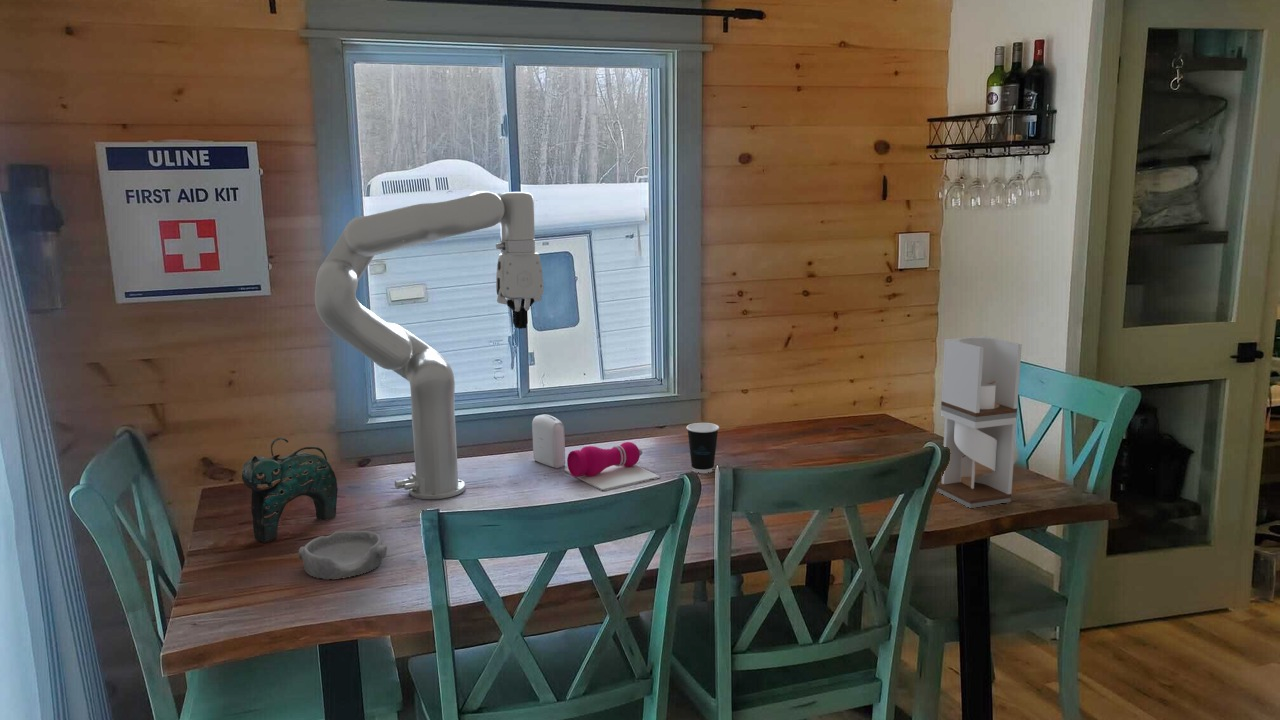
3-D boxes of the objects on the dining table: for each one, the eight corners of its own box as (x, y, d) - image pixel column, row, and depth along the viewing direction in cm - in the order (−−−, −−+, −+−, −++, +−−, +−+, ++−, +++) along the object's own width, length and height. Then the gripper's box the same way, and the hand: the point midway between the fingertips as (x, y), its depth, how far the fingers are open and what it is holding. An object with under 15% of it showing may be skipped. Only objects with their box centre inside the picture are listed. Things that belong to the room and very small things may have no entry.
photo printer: (530, 460, 235) (529, 413, 232) (545, 456, 237) (543, 410, 235) (553, 469, 227) (552, 421, 224) (567, 466, 229) (566, 418, 227)
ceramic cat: (260, 547, 181) (250, 449, 177) (241, 540, 184) (231, 444, 180) (344, 517, 197) (337, 426, 193) (325, 511, 200) (318, 422, 196)
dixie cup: (696, 477, 220) (696, 432, 218) (680, 468, 227) (680, 425, 224) (725, 472, 223) (725, 428, 221) (708, 463, 230) (708, 421, 228)
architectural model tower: (936, 492, 207) (944, 339, 200) (975, 486, 211) (984, 335, 204) (970, 509, 197) (979, 347, 190) (1010, 502, 200) (1021, 344, 193)
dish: (397, 565, 172) (395, 540, 171) (329, 590, 162) (327, 563, 161) (355, 545, 181) (353, 521, 180) (288, 568, 171) (286, 543, 170)
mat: (602, 491, 211) (602, 489, 211) (564, 471, 225) (564, 469, 225) (659, 478, 219) (659, 476, 219) (619, 459, 234) (619, 457, 234)
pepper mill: (585, 463, 213) (653, 450, 225) (570, 442, 218) (638, 431, 229) (576, 485, 217) (644, 472, 229) (562, 464, 222) (630, 452, 233)
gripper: (494, 249, 201) (497, 332, 204) (555, 247, 209) (557, 327, 212) (480, 247, 207) (483, 328, 211) (540, 245, 215) (542, 323, 219)
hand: (520, 327), depth 211 cm, fingers closed
